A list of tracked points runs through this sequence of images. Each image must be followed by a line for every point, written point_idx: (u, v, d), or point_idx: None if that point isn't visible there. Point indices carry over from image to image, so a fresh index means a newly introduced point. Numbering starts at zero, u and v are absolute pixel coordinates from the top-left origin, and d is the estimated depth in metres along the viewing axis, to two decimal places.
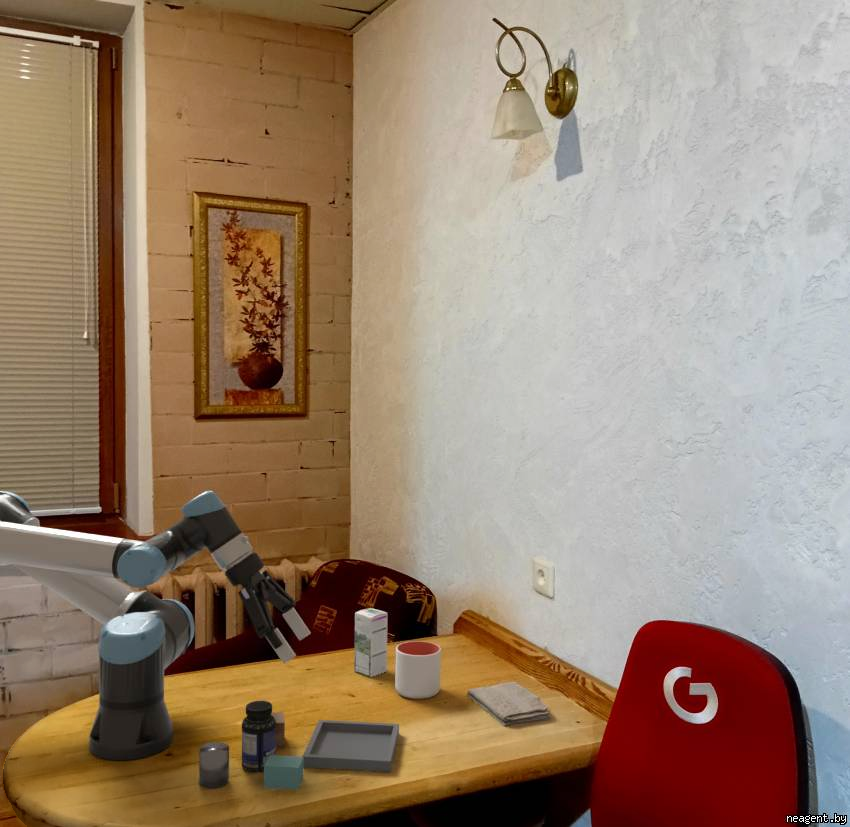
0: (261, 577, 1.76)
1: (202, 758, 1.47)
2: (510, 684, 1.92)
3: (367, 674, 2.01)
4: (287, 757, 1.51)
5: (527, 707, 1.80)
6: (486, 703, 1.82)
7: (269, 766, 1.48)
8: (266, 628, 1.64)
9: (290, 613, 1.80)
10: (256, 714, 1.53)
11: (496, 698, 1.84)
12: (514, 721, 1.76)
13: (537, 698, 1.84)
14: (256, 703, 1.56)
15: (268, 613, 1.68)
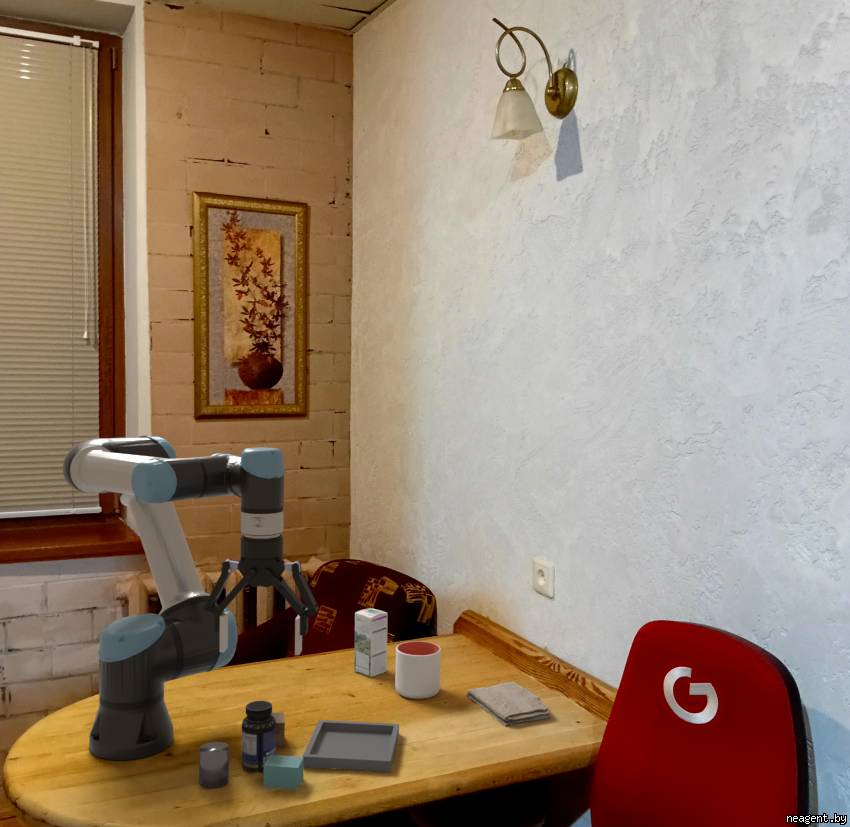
0: (273, 566, 1.53)
1: (202, 758, 1.47)
2: (509, 684, 1.92)
3: (367, 674, 2.01)
4: (287, 757, 1.51)
5: (528, 707, 1.80)
6: (487, 704, 1.82)
7: (269, 766, 1.48)
8: None
9: None
10: (256, 714, 1.53)
11: (496, 698, 1.84)
12: (515, 721, 1.76)
13: (537, 698, 1.84)
14: (256, 703, 1.56)
15: (228, 599, 1.54)
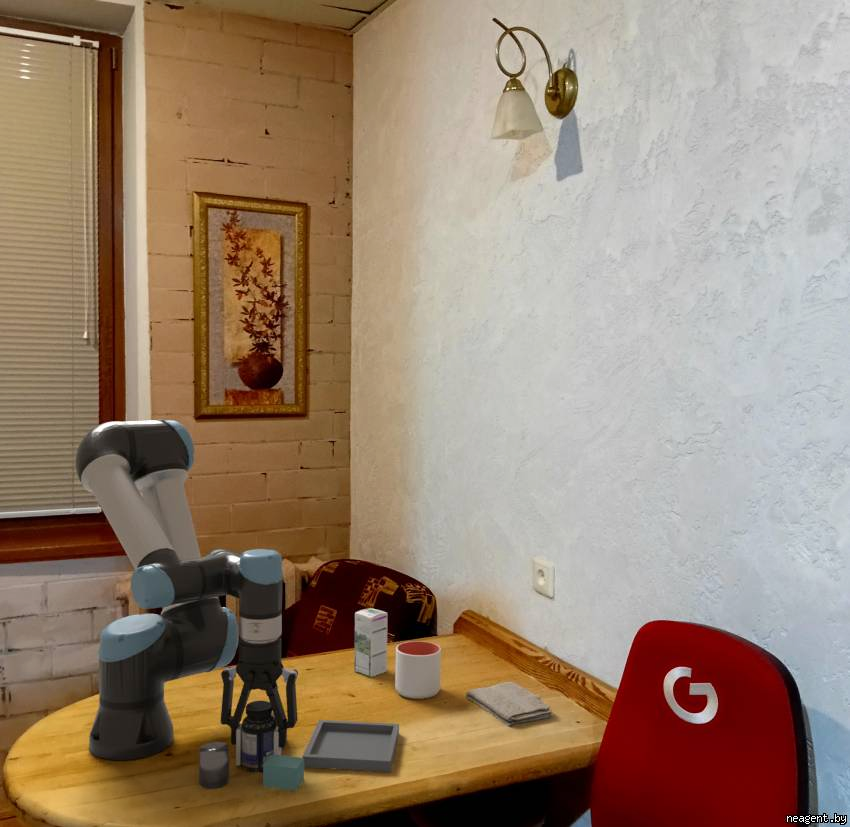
0: (271, 668, 1.54)
1: (202, 758, 1.47)
2: (508, 684, 1.92)
3: (367, 674, 2.01)
4: (288, 757, 1.51)
5: (530, 707, 1.80)
6: (488, 704, 1.82)
7: (268, 765, 1.48)
8: None
9: None
10: (256, 714, 1.53)
11: (497, 698, 1.84)
12: (518, 721, 1.76)
13: (537, 697, 1.84)
14: (256, 703, 1.56)
15: (238, 709, 1.54)
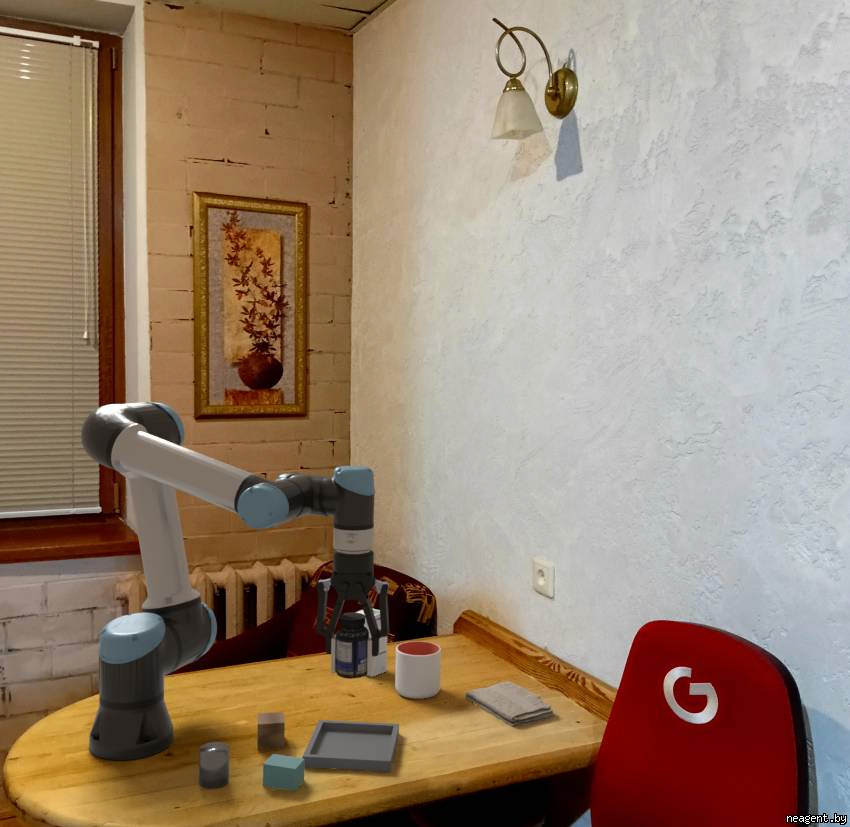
0: (365, 579, 1.59)
1: (202, 758, 1.47)
2: (506, 684, 1.92)
3: None
4: (288, 757, 1.51)
5: (531, 706, 1.80)
6: (489, 705, 1.81)
7: (268, 765, 1.48)
8: None
9: None
10: (351, 623, 1.58)
11: (497, 699, 1.84)
12: (521, 721, 1.76)
13: (538, 696, 1.85)
14: (349, 614, 1.62)
15: (333, 619, 1.60)
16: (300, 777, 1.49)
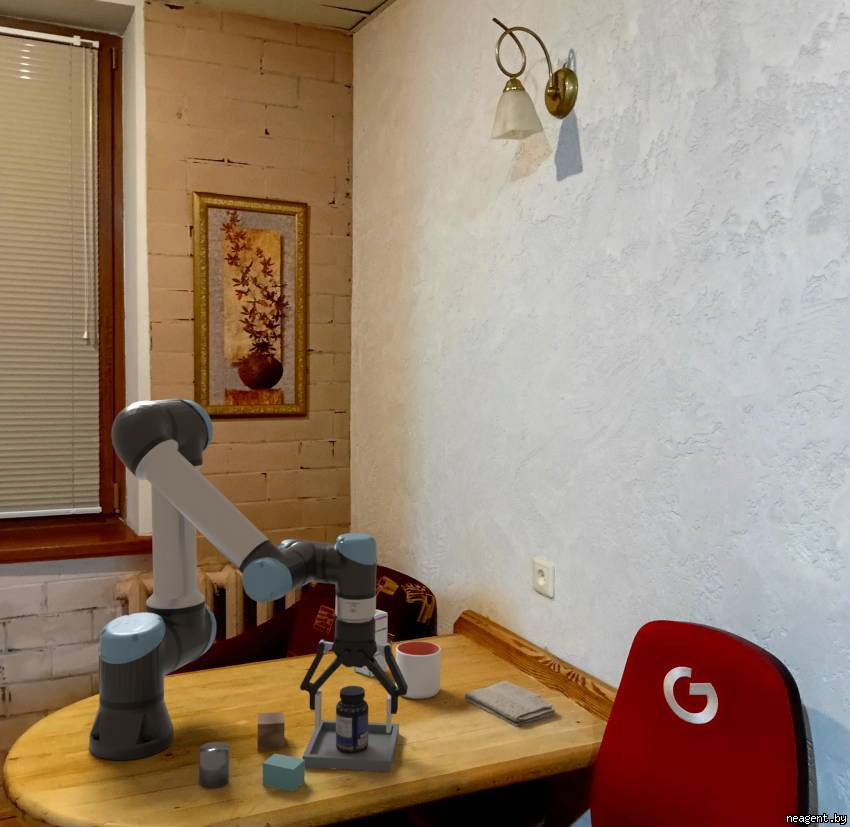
0: (366, 648, 1.60)
1: (202, 758, 1.47)
2: (504, 684, 1.92)
3: (367, 674, 2.01)
4: (289, 757, 1.51)
5: (533, 706, 1.81)
6: (491, 705, 1.81)
7: (267, 764, 1.48)
8: (300, 686, 1.62)
9: None
10: (351, 698, 1.60)
11: (498, 699, 1.83)
12: (525, 721, 1.76)
13: (538, 696, 1.85)
14: (349, 688, 1.63)
15: (323, 678, 1.61)
16: (299, 778, 1.49)
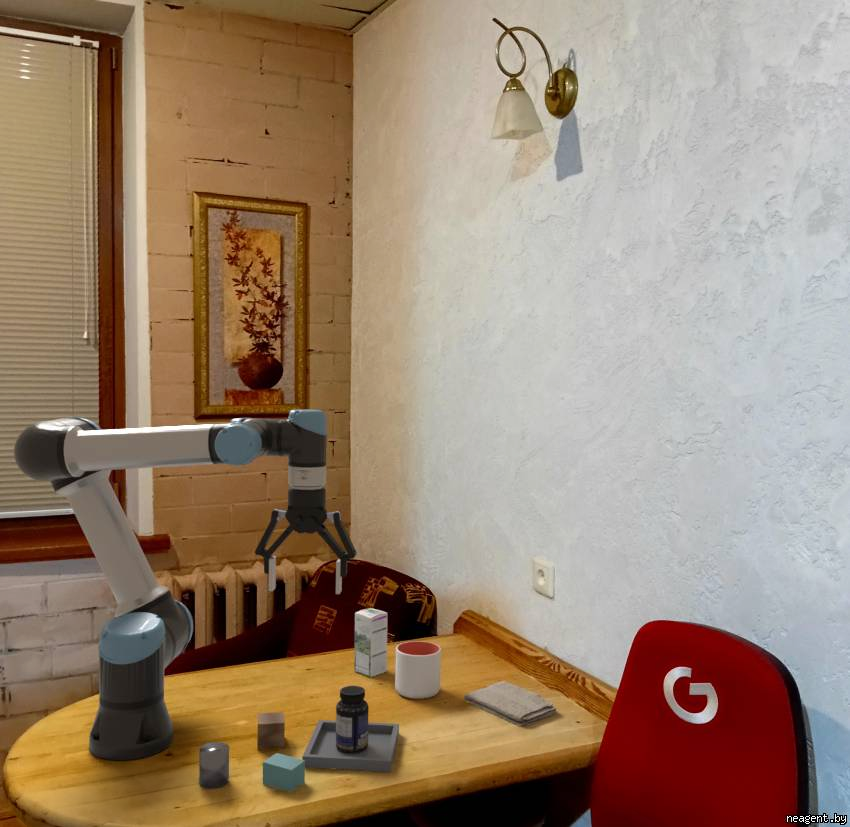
0: (316, 515, 1.72)
1: (202, 758, 1.47)
2: (502, 684, 1.92)
3: (367, 674, 2.01)
4: (290, 758, 1.51)
5: (534, 705, 1.81)
6: (493, 706, 1.81)
7: (267, 763, 1.49)
8: None
9: None
10: (351, 698, 1.60)
11: (500, 700, 1.83)
12: (529, 720, 1.76)
13: (538, 695, 1.86)
14: (349, 688, 1.63)
15: (276, 543, 1.73)
16: (299, 779, 1.48)
